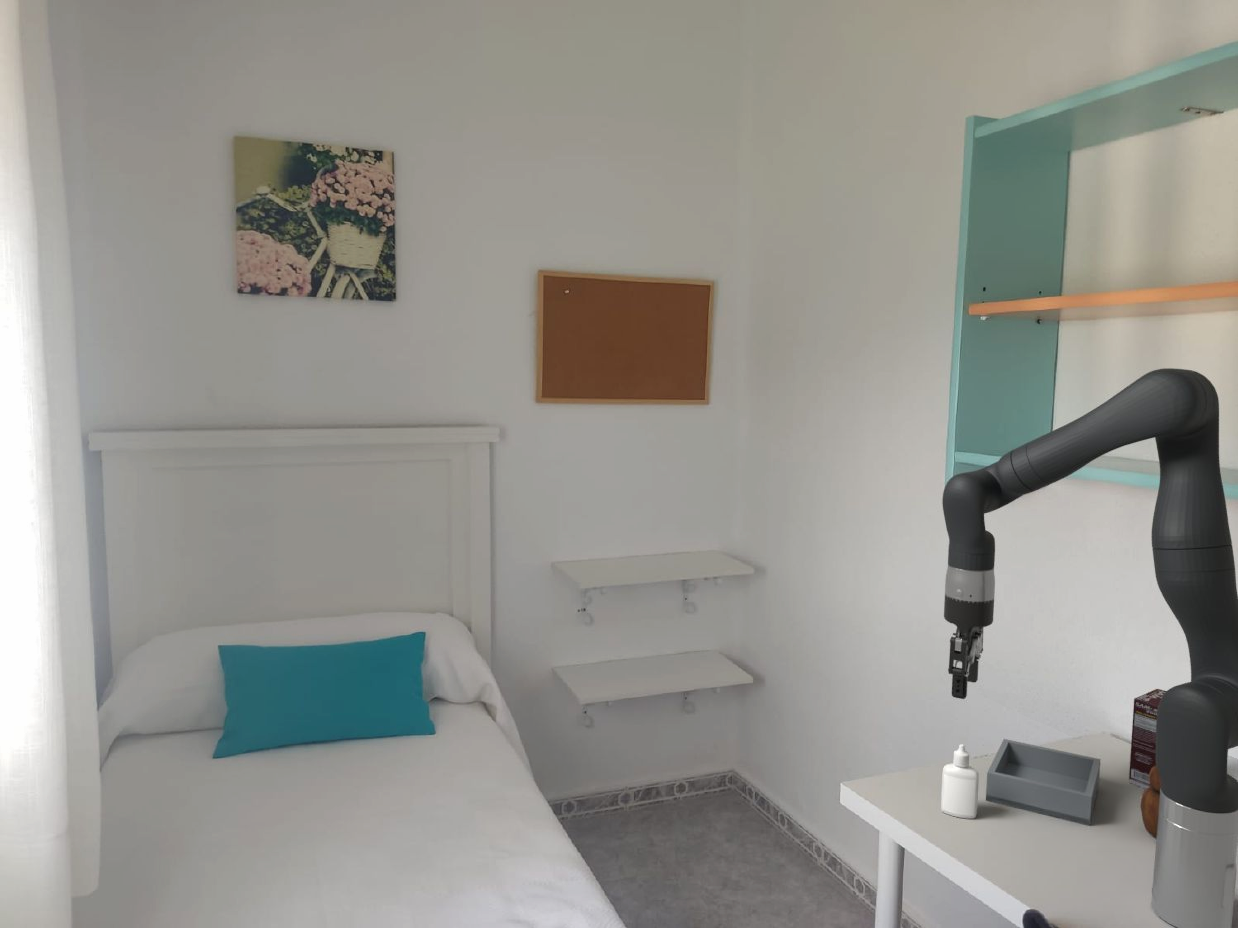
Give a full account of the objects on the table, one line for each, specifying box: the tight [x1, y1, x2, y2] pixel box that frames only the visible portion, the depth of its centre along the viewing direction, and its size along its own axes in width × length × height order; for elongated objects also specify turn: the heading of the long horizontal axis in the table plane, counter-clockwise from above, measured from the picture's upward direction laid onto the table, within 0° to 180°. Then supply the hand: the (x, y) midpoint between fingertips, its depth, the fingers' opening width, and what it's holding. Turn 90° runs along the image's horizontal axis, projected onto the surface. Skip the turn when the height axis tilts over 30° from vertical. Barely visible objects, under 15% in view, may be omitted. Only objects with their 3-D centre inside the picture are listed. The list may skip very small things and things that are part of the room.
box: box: [985, 738, 1102, 827], centre depth 159 cm, size 16×16×5 cm
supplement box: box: [1128, 688, 1167, 790], centre depth 163 cm, size 9×5×16 cm, turn 124°
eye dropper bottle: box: [940, 743, 979, 820], centre depth 152 cm, size 4×6×12 cm
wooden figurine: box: [1140, 765, 1161, 839], centre depth 145 cm, size 7×6×15 cm
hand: (964, 689), depth 150 cm, fingers open, 8 cm apart
